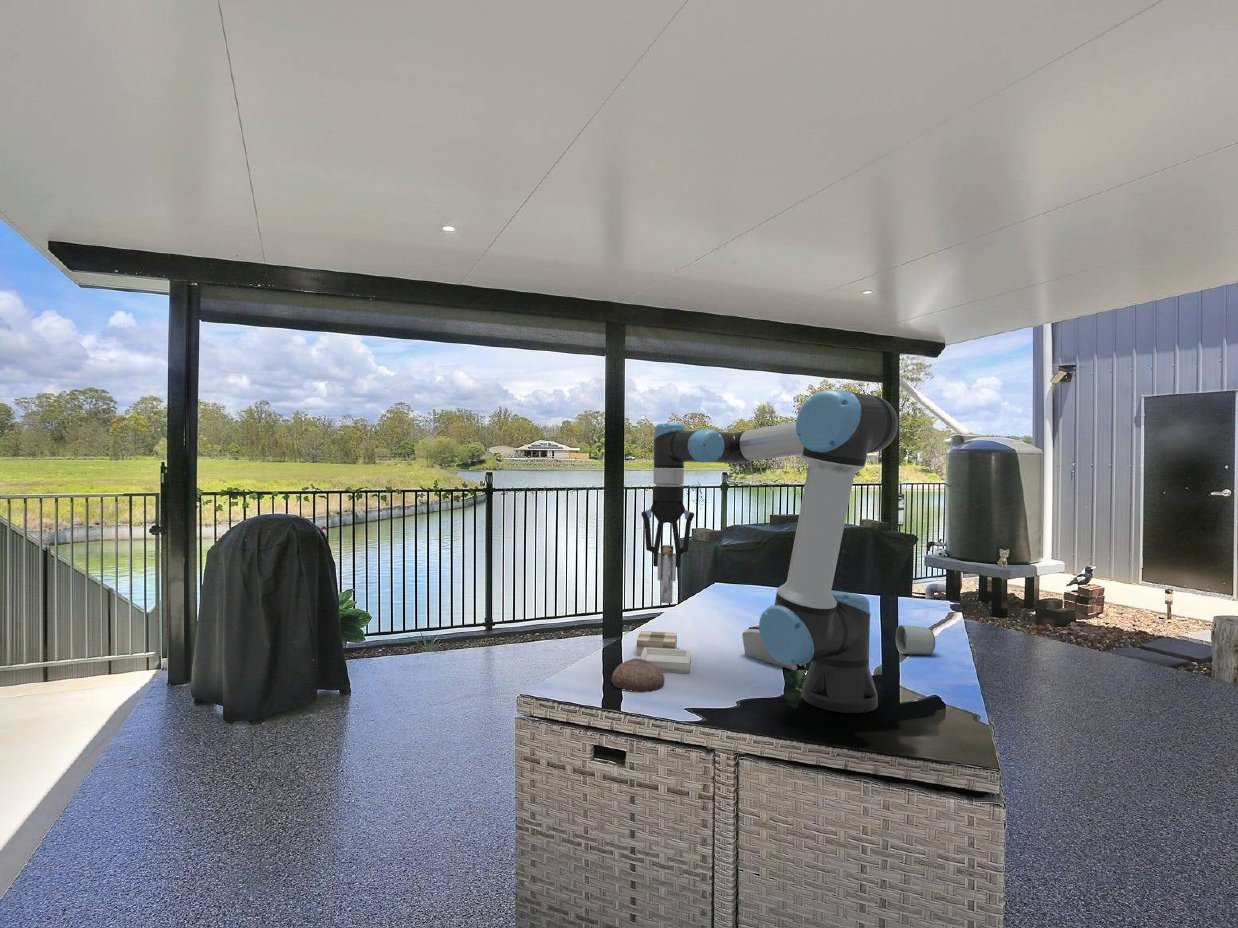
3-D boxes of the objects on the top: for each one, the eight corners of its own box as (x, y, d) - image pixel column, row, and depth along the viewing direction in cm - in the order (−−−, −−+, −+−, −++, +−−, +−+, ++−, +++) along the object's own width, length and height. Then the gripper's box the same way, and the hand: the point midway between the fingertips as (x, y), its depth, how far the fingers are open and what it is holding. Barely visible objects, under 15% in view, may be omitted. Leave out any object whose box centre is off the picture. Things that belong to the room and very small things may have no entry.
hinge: (807, 667, 163) (799, 630, 161) (795, 676, 160) (786, 639, 159) (757, 651, 177) (749, 617, 175) (745, 659, 174) (737, 625, 172)
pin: (672, 603, 161) (673, 546, 161) (659, 602, 162) (660, 546, 162) (672, 601, 164) (673, 545, 164) (660, 600, 165) (661, 544, 165)
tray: (689, 673, 156) (689, 663, 156) (639, 670, 157) (639, 660, 157) (690, 659, 168) (690, 649, 168) (643, 656, 169) (643, 647, 169)
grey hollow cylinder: (937, 657, 173) (937, 628, 174) (906, 657, 173) (906, 628, 173) (918, 647, 184) (918, 620, 184) (889, 647, 184) (889, 619, 184)
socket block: (674, 657, 169) (675, 642, 169) (636, 655, 171) (636, 640, 171) (676, 647, 179) (676, 632, 179) (640, 645, 180) (640, 630, 181)
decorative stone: (621, 674, 156) (621, 650, 156) (669, 680, 152) (670, 656, 152) (603, 689, 145) (603, 664, 145) (655, 696, 141) (656, 670, 141)
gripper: (700, 486, 166) (699, 578, 166) (637, 484, 168) (636, 576, 168) (700, 486, 158) (698, 583, 158) (634, 485, 161) (633, 581, 160)
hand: (666, 579), depth 163 cm, fingers closed on pin, 3 cm apart
